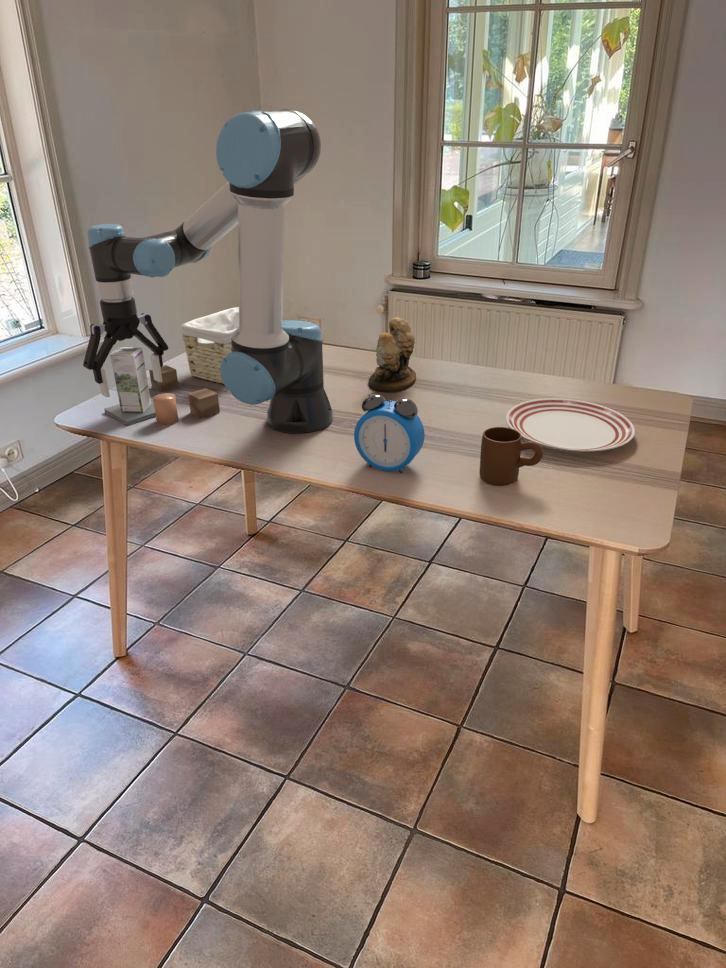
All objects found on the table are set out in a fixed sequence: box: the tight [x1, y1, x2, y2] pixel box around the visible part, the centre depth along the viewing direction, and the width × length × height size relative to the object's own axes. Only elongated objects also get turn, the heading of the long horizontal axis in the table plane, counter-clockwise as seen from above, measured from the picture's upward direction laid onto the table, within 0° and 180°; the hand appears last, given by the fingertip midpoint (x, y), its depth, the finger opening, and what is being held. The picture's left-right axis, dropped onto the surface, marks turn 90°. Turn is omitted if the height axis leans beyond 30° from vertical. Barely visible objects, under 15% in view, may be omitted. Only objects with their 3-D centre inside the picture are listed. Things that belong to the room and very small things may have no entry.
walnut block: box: [187, 387, 221, 419], centre depth 173 cm, size 5×5×5 cm
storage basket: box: [181, 306, 239, 384], centre depth 197 cm, size 24×16×15 cm
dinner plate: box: [505, 397, 636, 453], centre depth 160 cm, size 28×27×3 cm
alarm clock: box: [353, 393, 426, 474], centre depth 144 cm, size 13×6×15 cm, turn 67°
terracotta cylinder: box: [152, 392, 180, 427], centre depth 168 cm, size 5×5×6 cm
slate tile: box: [104, 399, 156, 426], centre depth 174 cm, size 11×11×1 cm
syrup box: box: [109, 346, 152, 413], centre depth 171 cm, size 6×6×14 cm
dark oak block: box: [148, 364, 180, 393], centre depth 188 cm, size 5×5×5 cm
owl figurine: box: [368, 316, 417, 393], centre depth 187 cm, size 18×12×17 cm, turn 162°
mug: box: [479, 426, 544, 487], centre depth 139 cm, size 12×8×9 cm, turn 60°
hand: (132, 388), depth 172 cm, fingers open, 13 cm apart
